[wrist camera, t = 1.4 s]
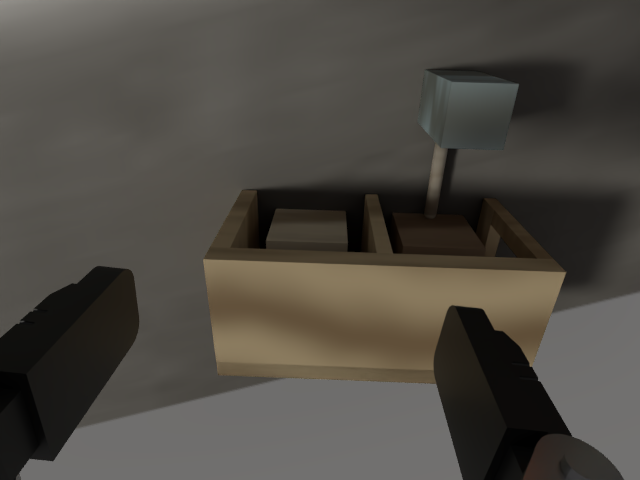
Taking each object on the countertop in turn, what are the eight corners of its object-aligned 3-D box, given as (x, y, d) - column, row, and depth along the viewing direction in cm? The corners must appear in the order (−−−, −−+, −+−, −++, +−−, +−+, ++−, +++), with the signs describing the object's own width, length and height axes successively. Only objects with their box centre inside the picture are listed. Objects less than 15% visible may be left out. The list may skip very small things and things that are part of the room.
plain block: (276, 208, 28) (265, 240, 24) (345, 210, 28) (347, 243, 24) (277, 267, 30) (268, 306, 26) (342, 269, 30) (343, 309, 26)
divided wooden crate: (242, 189, 27) (203, 259, 19) (495, 198, 27) (566, 272, 19) (248, 282, 31) (218, 375, 23) (473, 291, 30) (524, 387, 22)
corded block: (409, 69, 23) (431, 81, 18) (492, 71, 23) (539, 84, 18) (385, 271, 30) (396, 324, 25) (450, 274, 30) (475, 327, 25)
